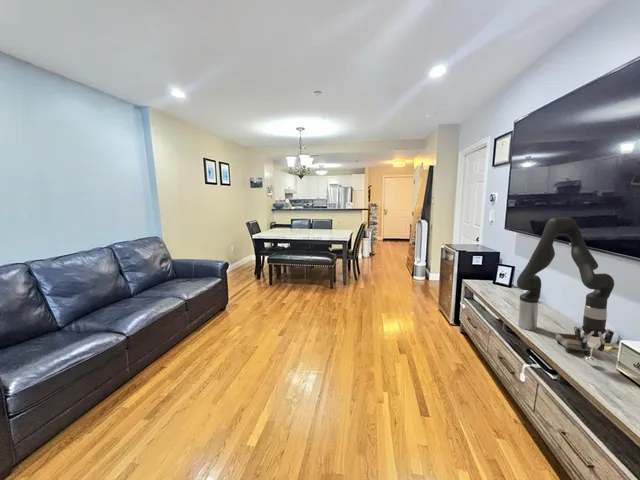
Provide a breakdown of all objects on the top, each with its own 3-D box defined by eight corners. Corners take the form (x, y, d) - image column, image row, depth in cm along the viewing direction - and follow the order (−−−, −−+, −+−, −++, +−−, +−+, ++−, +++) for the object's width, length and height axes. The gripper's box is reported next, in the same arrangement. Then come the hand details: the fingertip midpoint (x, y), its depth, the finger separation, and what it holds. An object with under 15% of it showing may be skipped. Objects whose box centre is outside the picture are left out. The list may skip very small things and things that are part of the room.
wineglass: (582, 358, 132) (584, 335, 130) (582, 354, 135) (584, 330, 134) (599, 363, 127) (601, 339, 126) (599, 358, 131) (601, 334, 130)
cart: (555, 342, 154) (555, 332, 153) (577, 344, 151) (578, 334, 150) (566, 353, 142) (567, 343, 142) (591, 355, 139) (591, 345, 139)
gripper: (609, 314, 130) (605, 347, 132) (571, 311, 134) (568, 344, 137) (620, 320, 123) (616, 356, 125) (580, 317, 127) (577, 351, 130)
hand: (591, 349), depth 131 cm, fingers closed on wineglass, 5 cm apart
